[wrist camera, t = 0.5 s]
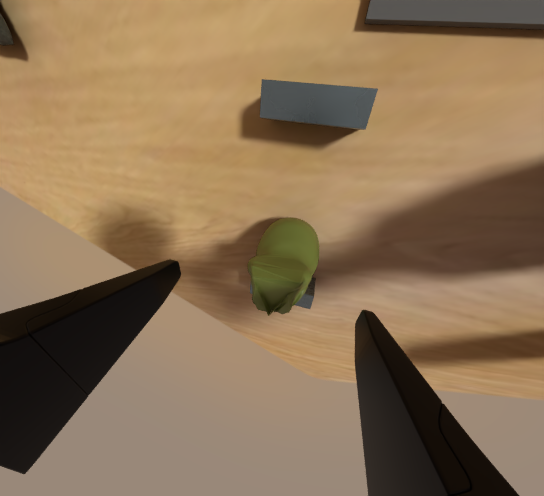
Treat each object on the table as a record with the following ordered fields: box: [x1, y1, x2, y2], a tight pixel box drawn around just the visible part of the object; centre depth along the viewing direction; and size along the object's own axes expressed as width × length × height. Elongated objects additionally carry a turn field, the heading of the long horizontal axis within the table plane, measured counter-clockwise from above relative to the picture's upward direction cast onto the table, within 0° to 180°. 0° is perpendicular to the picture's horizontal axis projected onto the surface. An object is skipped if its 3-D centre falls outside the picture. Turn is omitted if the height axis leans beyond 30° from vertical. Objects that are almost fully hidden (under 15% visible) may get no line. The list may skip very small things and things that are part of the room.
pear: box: [248, 218, 319, 316], centre depth 16 cm, size 6×5×10 cm
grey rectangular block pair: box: [250, 79, 378, 309], centre depth 18 cm, size 7×19×3 cm, turn 174°
